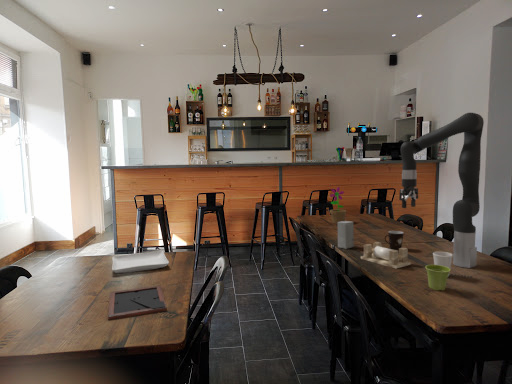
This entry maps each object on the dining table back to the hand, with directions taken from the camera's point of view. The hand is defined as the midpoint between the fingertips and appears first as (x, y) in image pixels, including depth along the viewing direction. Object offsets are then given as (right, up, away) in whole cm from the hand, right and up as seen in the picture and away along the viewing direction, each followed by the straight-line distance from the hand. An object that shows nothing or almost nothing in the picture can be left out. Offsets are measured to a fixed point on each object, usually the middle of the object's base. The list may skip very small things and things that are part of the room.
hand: (408, 207), depth 198 cm
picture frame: (-131, -35, -58) cm, 148 cm away
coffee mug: (-3, -26, +16) cm, 30 cm away
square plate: (-146, -31, -9) cm, 149 cm away
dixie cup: (+2, -30, -32) cm, 44 cm away
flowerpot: (-15, -18, +104) cm, 107 cm away
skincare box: (-30, -26, +22) cm, 45 cm away
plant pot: (-9, -32, -49) cm, 59 cm away
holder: (-17, -28, -10) cm, 34 cm away
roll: (-17, -27, -10) cm, 33 cm away
